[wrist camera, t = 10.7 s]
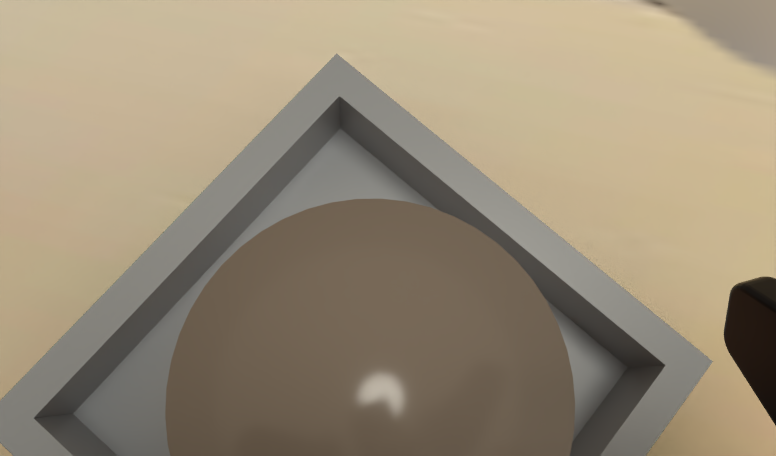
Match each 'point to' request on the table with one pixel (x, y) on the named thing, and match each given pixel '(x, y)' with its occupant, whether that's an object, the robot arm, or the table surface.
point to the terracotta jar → (370, 344)
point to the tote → (314, 188)
